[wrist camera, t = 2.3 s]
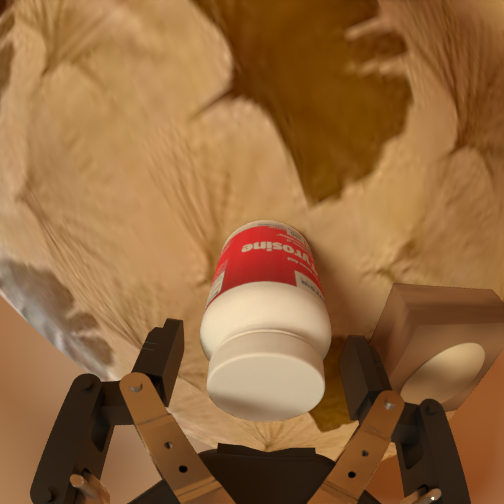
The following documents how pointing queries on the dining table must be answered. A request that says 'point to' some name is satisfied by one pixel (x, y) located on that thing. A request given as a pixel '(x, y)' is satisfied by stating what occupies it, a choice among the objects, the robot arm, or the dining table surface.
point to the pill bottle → (266, 325)
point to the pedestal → (438, 341)
